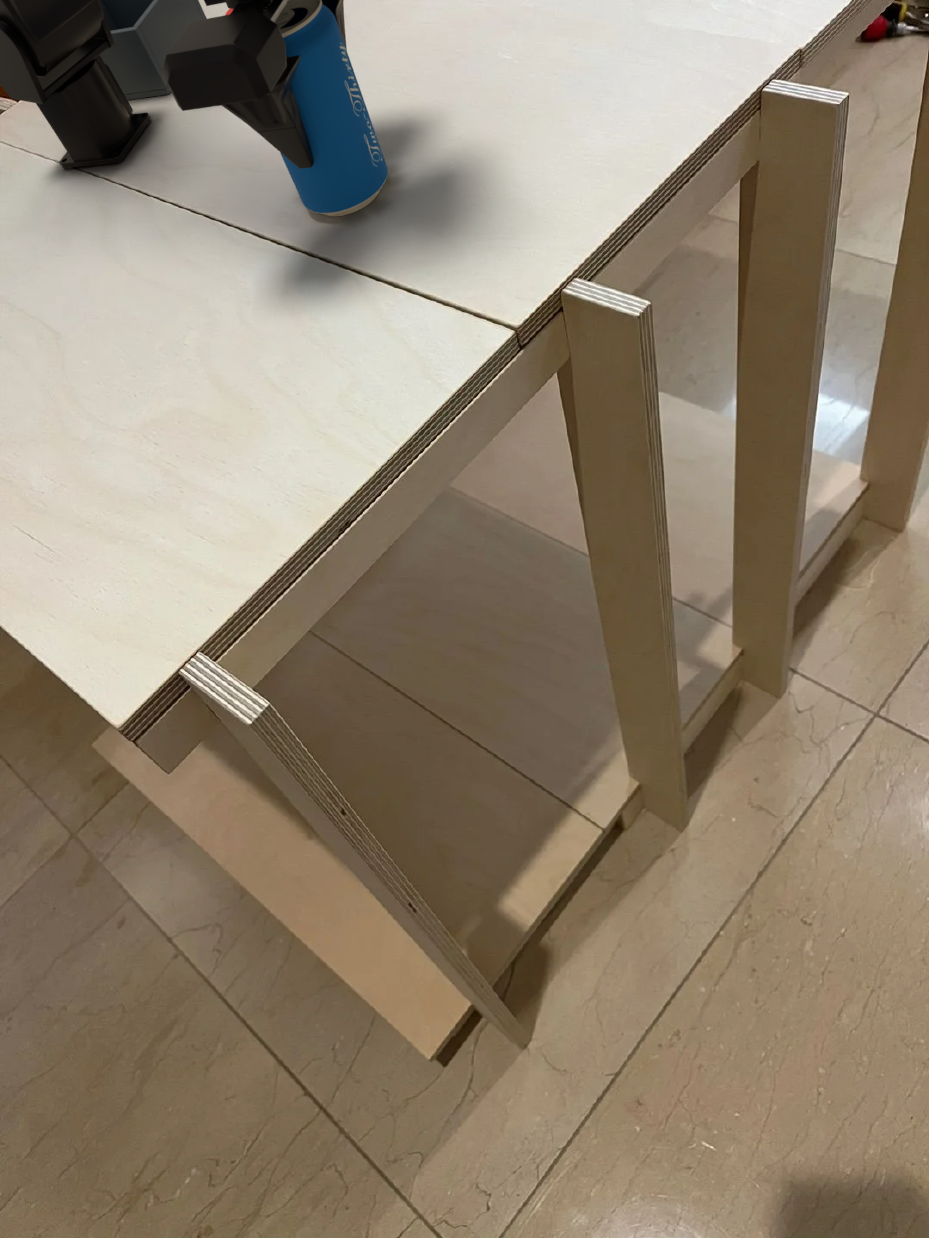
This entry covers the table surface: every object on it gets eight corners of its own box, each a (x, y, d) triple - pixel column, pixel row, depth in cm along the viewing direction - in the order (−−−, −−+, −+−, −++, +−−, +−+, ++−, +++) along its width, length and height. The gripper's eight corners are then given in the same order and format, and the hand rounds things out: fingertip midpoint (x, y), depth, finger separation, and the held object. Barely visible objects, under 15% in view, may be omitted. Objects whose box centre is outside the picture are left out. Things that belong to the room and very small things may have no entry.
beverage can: (379, 218, 62) (310, 34, 52) (295, 227, 64) (213, 52, 54) (400, 161, 65) (339, -23, 55) (320, 171, 67) (247, -4, 57)
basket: (169, 94, 80) (135, 29, 76) (79, 107, 84) (42, 45, 79) (213, 32, 85) (183, -33, 81) (126, 46, 89) (93, -15, 84)
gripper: (279, -97, 41) (393, 211, 53) (399, -260, 49) (473, 38, 62) (86, -51, 45) (235, 225, 57) (228, -210, 53) (330, 61, 66)
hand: (326, 132), depth 60 cm, fingers closed on beverage can, 7 cm apart
